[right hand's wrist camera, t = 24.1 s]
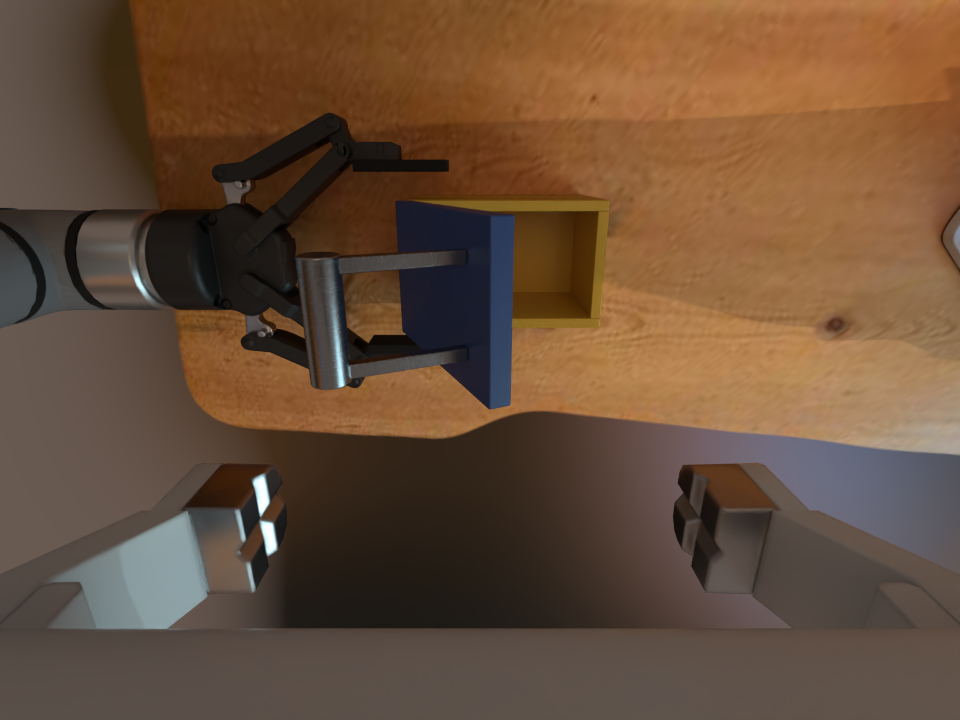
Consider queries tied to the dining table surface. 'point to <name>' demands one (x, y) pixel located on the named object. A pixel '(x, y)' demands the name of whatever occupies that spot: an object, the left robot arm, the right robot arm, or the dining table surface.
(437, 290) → the lid
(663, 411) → the dining table surface
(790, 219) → the dining table surface
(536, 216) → the chest
